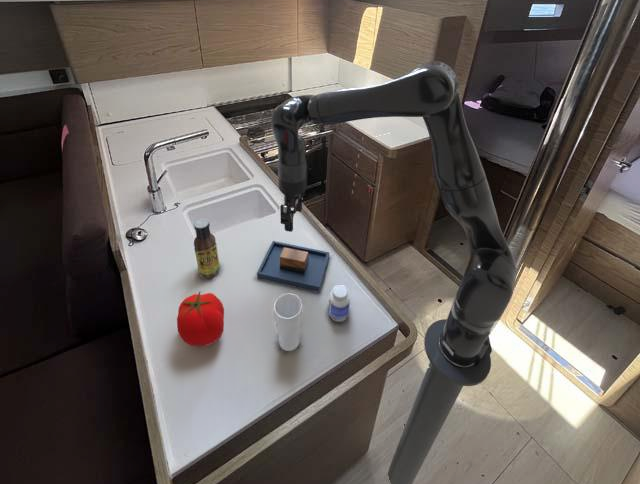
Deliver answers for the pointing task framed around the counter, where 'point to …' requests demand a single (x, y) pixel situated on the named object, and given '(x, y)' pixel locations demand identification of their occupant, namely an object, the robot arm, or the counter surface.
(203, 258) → the sauce bottle
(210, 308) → the tomato
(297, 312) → the drinking glass
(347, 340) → the counter surface
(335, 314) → the pill bottle
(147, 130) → the counter surface
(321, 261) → the tray
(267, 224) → the counter surface
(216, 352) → the counter surface
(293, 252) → the eraser
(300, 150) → the robot arm
